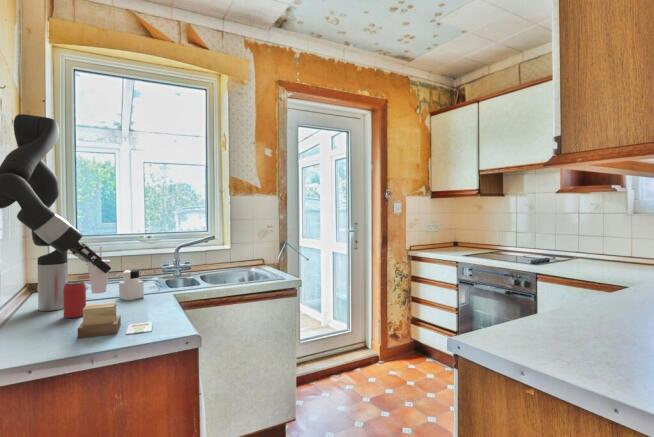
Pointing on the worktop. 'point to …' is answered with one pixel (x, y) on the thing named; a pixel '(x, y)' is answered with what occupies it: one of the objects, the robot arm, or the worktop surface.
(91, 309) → the oak brick
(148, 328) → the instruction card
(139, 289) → the medicine bottle
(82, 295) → the beer can
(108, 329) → the base slab
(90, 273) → the smoothie
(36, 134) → the robot arm
